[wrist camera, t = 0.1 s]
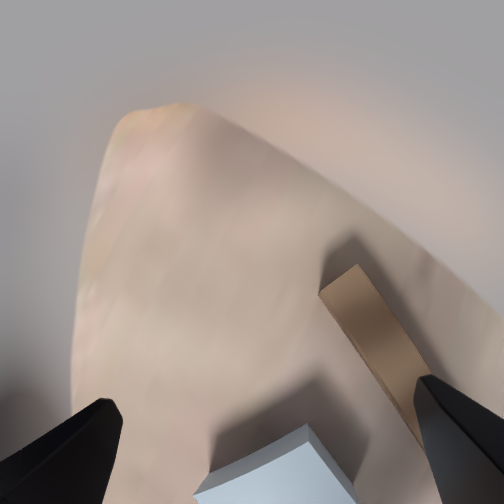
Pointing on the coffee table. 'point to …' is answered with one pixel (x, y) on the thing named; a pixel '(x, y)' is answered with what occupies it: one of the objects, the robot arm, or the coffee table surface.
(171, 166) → the coffee table surface
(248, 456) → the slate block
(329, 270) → the coffee table surface
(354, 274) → the brown wooden bar
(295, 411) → the coffee table surface
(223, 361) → the coffee table surface
